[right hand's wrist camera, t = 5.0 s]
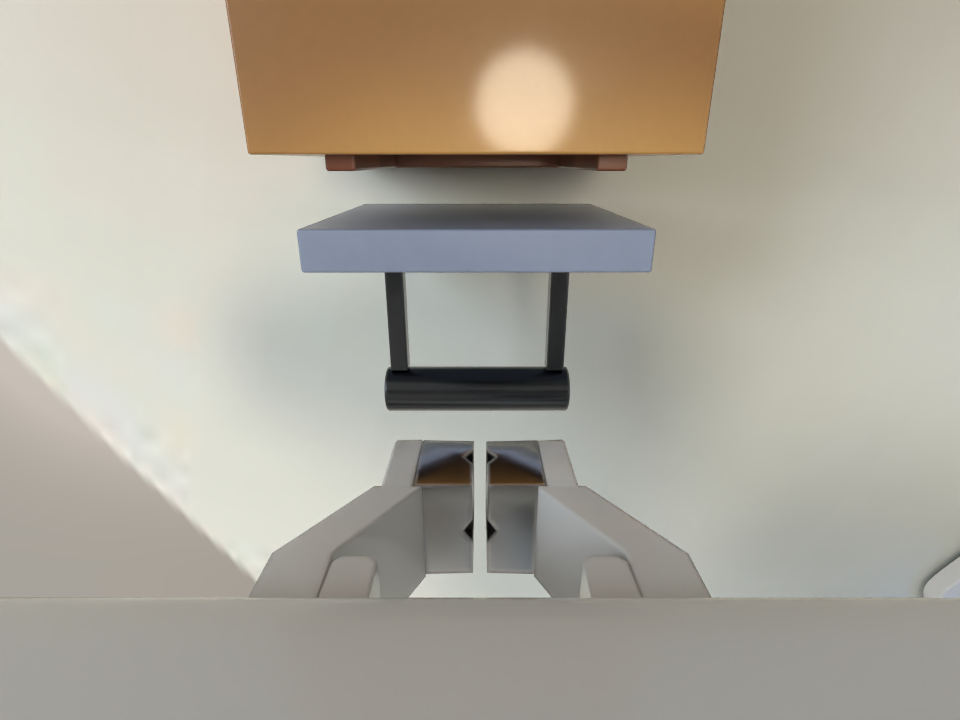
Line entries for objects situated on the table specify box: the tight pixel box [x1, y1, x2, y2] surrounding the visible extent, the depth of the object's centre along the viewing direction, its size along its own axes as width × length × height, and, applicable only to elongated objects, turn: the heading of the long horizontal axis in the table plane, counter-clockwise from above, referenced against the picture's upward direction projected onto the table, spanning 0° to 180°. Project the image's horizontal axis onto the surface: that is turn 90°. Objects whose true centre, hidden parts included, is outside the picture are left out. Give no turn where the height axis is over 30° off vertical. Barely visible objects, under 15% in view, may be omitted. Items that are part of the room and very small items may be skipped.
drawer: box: [297, 155, 656, 411], centre depth 17 cm, size 24×10×9 cm, turn 0°
